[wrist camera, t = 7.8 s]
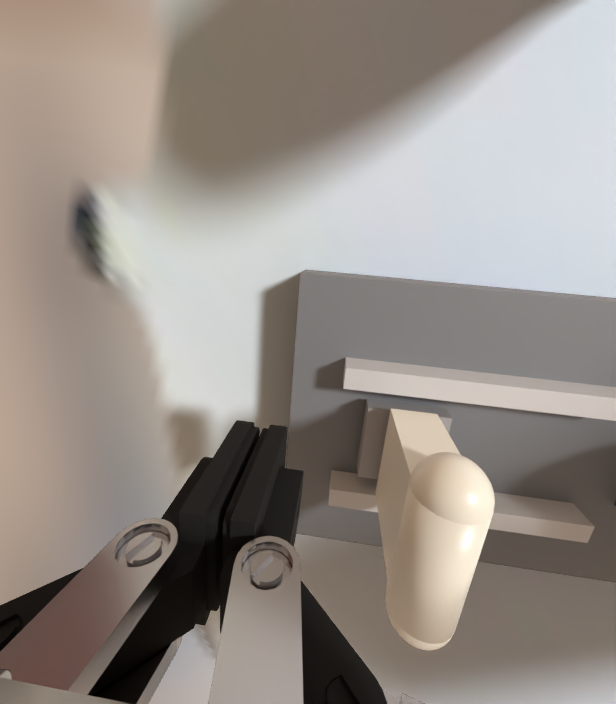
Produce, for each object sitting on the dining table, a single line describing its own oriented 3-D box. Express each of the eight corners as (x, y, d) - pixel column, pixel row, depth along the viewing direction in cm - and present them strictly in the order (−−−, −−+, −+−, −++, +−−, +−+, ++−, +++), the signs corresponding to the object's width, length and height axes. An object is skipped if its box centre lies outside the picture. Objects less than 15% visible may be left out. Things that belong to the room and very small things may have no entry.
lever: (452, 379, 12) (554, 499, 6) (424, 497, 14) (484, 679, 8) (371, 370, 12) (396, 477, 6) (353, 487, 14) (360, 657, 8)
